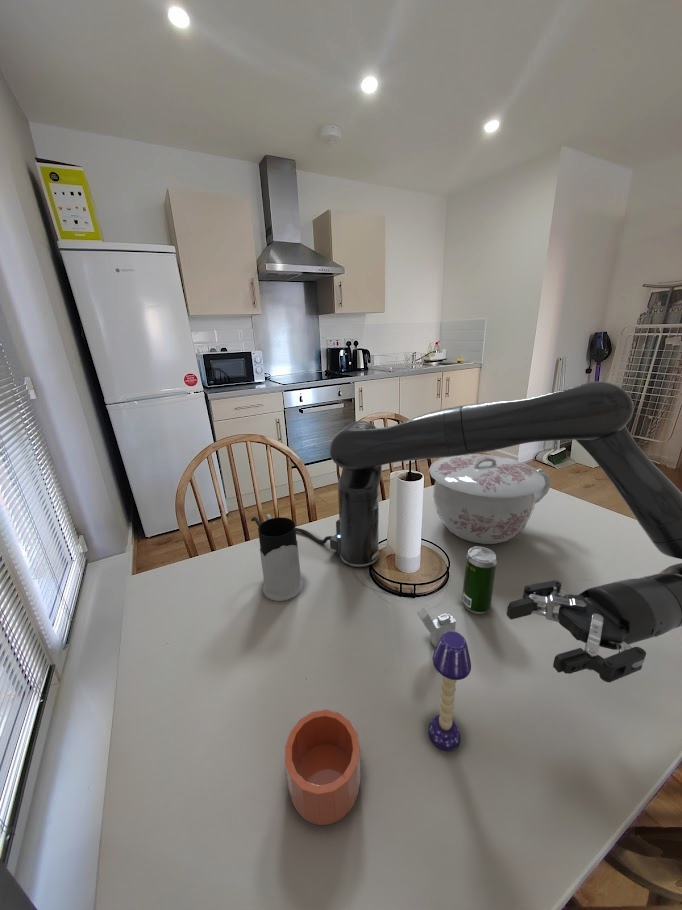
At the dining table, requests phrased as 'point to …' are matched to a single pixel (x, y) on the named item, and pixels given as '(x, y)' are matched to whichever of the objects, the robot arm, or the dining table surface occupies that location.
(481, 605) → the beer can
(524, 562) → the dining table surface
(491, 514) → the chamber pot
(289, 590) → the glass holder
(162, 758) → the dining table surface
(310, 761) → the orange cylindrical pot
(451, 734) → the toy lamp
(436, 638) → the lighter
